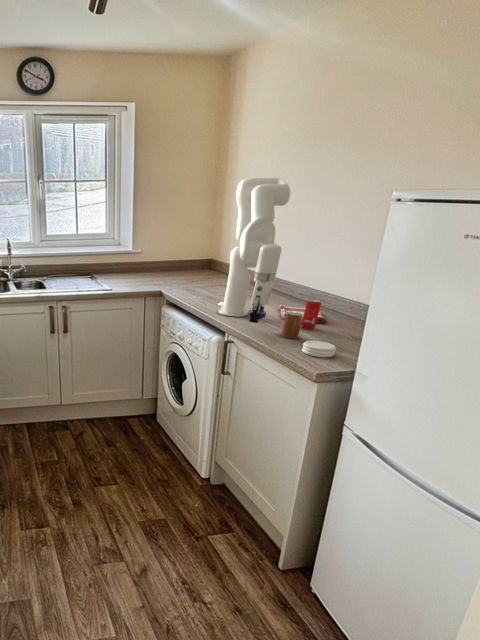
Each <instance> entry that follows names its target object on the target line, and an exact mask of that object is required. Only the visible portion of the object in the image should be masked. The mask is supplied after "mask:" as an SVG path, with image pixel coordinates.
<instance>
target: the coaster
mask: <svg viewBox="0 0 480 640" xmlns="http://www.w3.org/2000/svg"><path fill="white" fill-rule="evenodd" d="M336 349H337V347H336V346H335V345H334V344H332V343H329V342H326V341H322V340H306V341H304V342H303V344H302V349H301V352H302V353H303V354H305V355H308V356H311V357H317V358H323V359H324V358H325V359H326V358H333V357H334V355H335V352H336Z"/></svg>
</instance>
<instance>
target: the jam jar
mask: <svg viewBox="0 0 480 640" xmlns="http://www.w3.org/2000/svg"><path fill="white" fill-rule="evenodd" d="M302 319H303V318H302V314H301V313H296V312H289V313H287V316H286V317H285V320H284V321H283V326H282V330H281V334H280V336H281V337H282V338H284V339H292V340H293V339H295V340H296V339H298V338H299V334H300V331H301V328H302V326H301V323H302Z"/></svg>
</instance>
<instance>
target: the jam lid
mask: <svg viewBox="0 0 480 640" xmlns="http://www.w3.org/2000/svg"><path fill="white" fill-rule="evenodd" d="M251 311H252V309H249V310H248V311H247V316H248V317H250V315H251ZM259 313H260V315H259V318H262V319H264V318H266V316H267V312H266V311H265V310H264V311H261V310H260V311H259Z"/></svg>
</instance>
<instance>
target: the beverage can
mask: <svg viewBox="0 0 480 640" xmlns="http://www.w3.org/2000/svg"><path fill="white" fill-rule="evenodd" d="M321 306H322V301H321V300H320V299H307V301H306V304H305V307H304V308H305V311H304V315H303V319H302V323H301V329H304V330H308V331H309V330H314V328H315V327H316V324H317V322H316V321H317V317H318V314H319V312H320V310H321Z"/></svg>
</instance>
